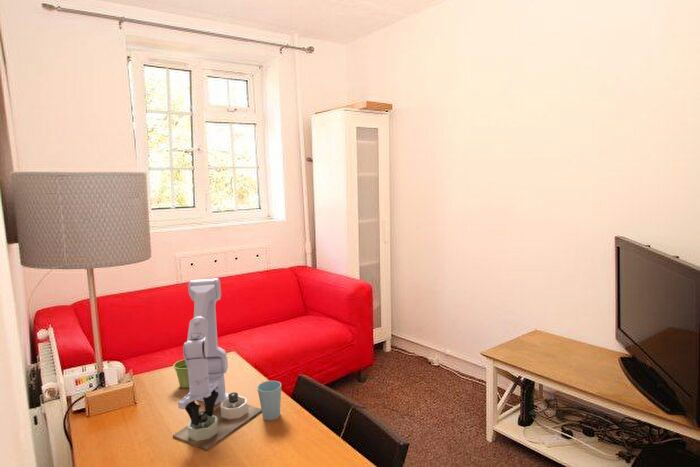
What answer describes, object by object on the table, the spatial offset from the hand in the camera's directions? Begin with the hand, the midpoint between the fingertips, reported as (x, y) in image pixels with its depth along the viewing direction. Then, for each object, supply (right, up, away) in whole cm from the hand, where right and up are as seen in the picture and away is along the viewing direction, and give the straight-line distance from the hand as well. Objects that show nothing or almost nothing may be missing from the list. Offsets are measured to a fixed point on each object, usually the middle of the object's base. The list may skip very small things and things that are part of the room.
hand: (202, 419), depth 135 cm
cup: (+20, -3, +9) cm, 22 cm away
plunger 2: (+7, -2, +12) cm, 14 cm away
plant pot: (-17, -1, +34) cm, 38 cm away
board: (+4, -4, +6) cm, 8 cm away
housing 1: (0, -5, +1) cm, 5 cm away
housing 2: (+7, -3, +12) cm, 14 cm away
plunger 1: (0, -4, +1) cm, 4 cm away
